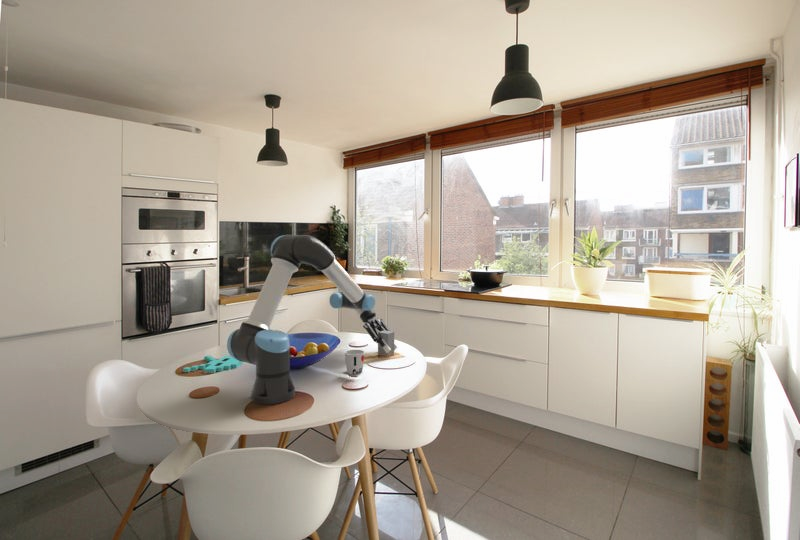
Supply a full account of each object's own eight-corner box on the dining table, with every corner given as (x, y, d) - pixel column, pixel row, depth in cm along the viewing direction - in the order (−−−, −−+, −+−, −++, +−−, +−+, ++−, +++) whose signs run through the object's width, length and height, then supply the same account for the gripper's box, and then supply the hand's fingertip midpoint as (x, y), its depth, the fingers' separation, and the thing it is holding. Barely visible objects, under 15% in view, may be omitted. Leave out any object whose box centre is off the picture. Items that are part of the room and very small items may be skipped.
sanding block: (394, 354, 195) (394, 331, 194) (388, 356, 191) (388, 333, 190) (384, 352, 198) (384, 330, 197) (377, 354, 194) (378, 332, 193)
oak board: (405, 359, 192) (405, 356, 192) (359, 367, 180) (359, 364, 180) (391, 352, 204) (391, 349, 204) (347, 359, 192) (347, 356, 192)
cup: (352, 380, 164) (352, 356, 163) (341, 375, 170) (341, 351, 169) (368, 375, 169) (368, 352, 169) (357, 371, 176) (357, 348, 175)
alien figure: (183, 373, 172) (229, 374, 172) (183, 368, 172) (229, 369, 172) (206, 359, 192) (248, 360, 192) (206, 355, 192) (248, 355, 192)
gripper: (372, 314, 209) (398, 350, 201) (349, 319, 194) (376, 359, 186) (380, 305, 206) (407, 341, 198) (357, 310, 191) (385, 349, 183)
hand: (392, 350), depth 192 cm, fingers closed on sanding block, 5 cm apart
